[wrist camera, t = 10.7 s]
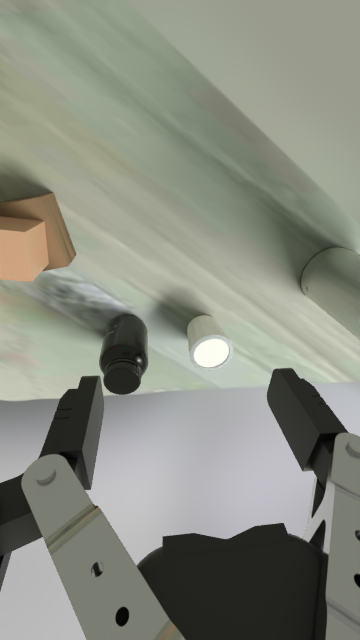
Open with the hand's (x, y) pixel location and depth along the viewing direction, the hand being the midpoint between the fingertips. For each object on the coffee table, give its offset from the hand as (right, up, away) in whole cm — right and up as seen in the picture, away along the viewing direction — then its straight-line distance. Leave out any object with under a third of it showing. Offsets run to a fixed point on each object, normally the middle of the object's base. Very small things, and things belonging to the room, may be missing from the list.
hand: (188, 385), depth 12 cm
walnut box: (-19, +15, +23) cm, 34 cm away
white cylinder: (+4, +2, +35) cm, 35 cm away
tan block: (-19, +12, +19) cm, 29 cm away
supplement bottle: (-9, +1, +33) cm, 34 cm away
